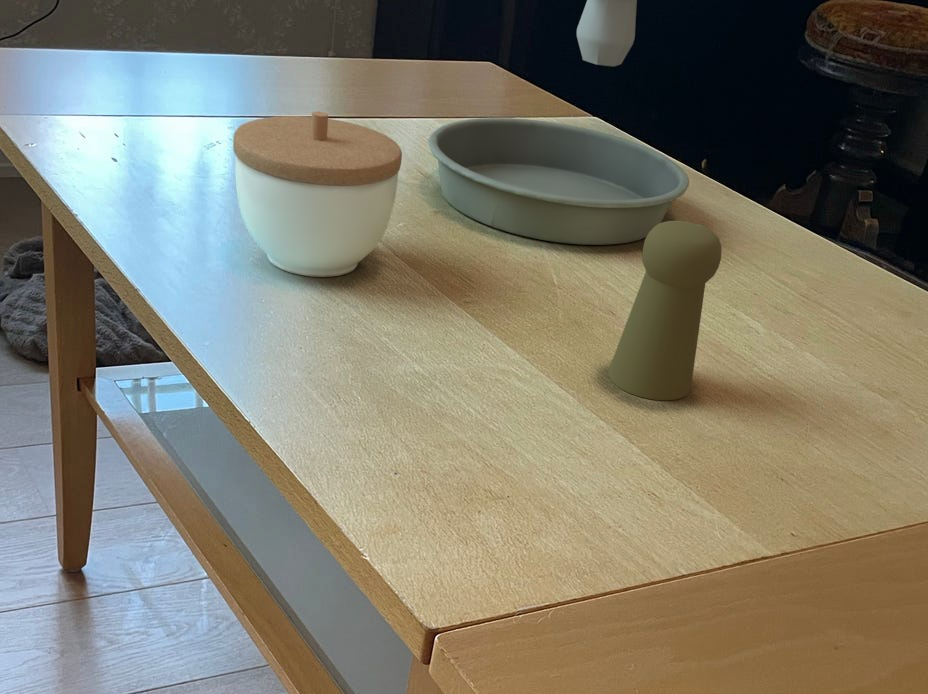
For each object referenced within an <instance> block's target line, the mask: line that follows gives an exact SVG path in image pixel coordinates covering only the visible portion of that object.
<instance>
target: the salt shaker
mask: <svg viewBox="0 0 928 694" xmlns="http://www.w3.org/2000/svg"><path fill="white" fill-rule="evenodd" d="M637 2H638V0H586V2H585V6H584V8H583V10H582V14H581V16H580V19H579V22H578V24H577V28H576V38H577V43H578V47H579V50H580V54H581V58H582V61H584V62H587V63H591V64H594V65H597V66H598V65H599V66H604V67H617V66H620V65H622V64H623V62H624V60H625V59H626V57H627V55H628V53H629V52H630V49H631V48H632V46H633V45H634V42H635V38H636V22H637V21H636V20H637V18H636V17H637V4H638V3H637Z"/></svg>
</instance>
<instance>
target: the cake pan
mask: <svg viewBox="0 0 928 694" xmlns="http://www.w3.org/2000/svg"><path fill="white" fill-rule="evenodd" d="M427 140H428V141H427V143H428V147H429V150H430V152H431V154H432V155H433V157H434V158H435V159H437V163H438V164H437V165H438V176H439V184H440V185H439V186H440V192H441V195H442V197H443V198H444V199H445V201H446V202H447V203H448V204H449V205H450V206H452V207H453V208H454V209H455V210H457V211H458V212H460V213H461V214H463V215H465V216H466V217H468V218H470V219H472V220H474V221H477V222H479V223H482V224H484V225H486V226H488V227H492V228H494V229H497V230H500V231H504V232H507V233H510V234H514V235H518V236H522V237H526V238H532V239H535V240H541V241H547V242H554V243H562V244H568V245H569V244H570V245H581V246H582V245H583V246H587V245H588V246H593V245H594V246H609V245H620V244H627V243H632V242H637V241H641V240H643V239H646V237H647V235H648V233H649V232H650V231H651V230H652V229H653V228H654V226H656V225H657V224H660V223H663V220H664V218H665V217H666V214H667V212H668V210H669V208H670V206H671V204H672V202H674V201H675V200H677V199H679V198H680V197H682V196H683V195H684V194H685V193H686V192H687V190H688V189H689V186H690V180H689V179H690V178H689V176H688V174H687V173H686V171H685V170H684V169H683V168H682V167H681V166H680V165H679V164H678V163H677V162H675V161H674V160H672V159H670V158H669V157H667V156H665V155H664V154H662V153H660V152H658V151H656V150H654V149H652V148H649V147H647V146H644V145H643V144H640V143H637V142H634V141H631V140H629V139H626V138H623V137H620V136H617V135H613V134H609V133H607V132H603V131H598V130H594V129H590V128H586V127H582V126H577V125H571V124H566V123H561V122H560V123H559V122H554V121H553V122H552V121H547V120H546V121H545V120H537V119H528V118H527V119H526V118H512V117H483V118H482V117H479V118H470V119H464V120H463V119H462V120H458V121H454V122H450V123H447V124H444V125H442V126H440V127H438V128H436V129H434V131H432V133H431V134H430V136H429V138H428V139H427Z"/></svg>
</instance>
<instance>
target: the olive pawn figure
mask: <svg viewBox="0 0 928 694" xmlns="http://www.w3.org/2000/svg"><path fill="white" fill-rule="evenodd" d="M641 255H642V256H641V257H642V259H641V260H642V265H643V267H644V269H645V272H644V276H643V278H642V280H641V284H640V286H639V288H638V291H637V294H636V296H635V299H634V301H633V304H632V307H631V309H630V313H629V315H628V318H627V320H626V323H625V325H624V328H623V331H622V334H621V336H620V339H619V342H618V344H617V347H616V350H615V352H614V355H613V358H612V360H611V363H610V366H609V368H608V372H607V376H608V378H609V380H610V382H611V383H612V384H613V385H615V386H616V387H617V388H619V389H620V390H623V391H624V392H626V393H628V394H631V395H633V396H636V397H640V398H642V399H643V398H644V399H649V400H654V401H673V400H679V399H682V398H685V397H687V396H688V395H689V394H690V392H691V391H692V384H693V378H694V377H693V376H694V369H695V362H696V354H697V348H698V340H699V334H700V326H701V319H702V311H703V303H704V298H705V297H704V296H705V289H706V284H707V283H708V281H710V280H711V279H713V277H714V276H715V275H716V273H717V271H718V269H719V267H720V265H721V262H722V261H721V260H722V244H721V240H720V238H719V237H718V236H717V234H716V233H714V232H713V230H711V229H709V228H707V227H705V226H703V225H700V224H696V223H693V222H689V221H681V220H667V221H662V222H661V223H660V224H657V225H656V226H654V228H653V229H652V230H651V231H650V232H649V233H648V235H647V237H646V238H644V242H643V246H642V252H641Z"/></svg>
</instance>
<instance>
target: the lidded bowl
mask: <svg viewBox="0 0 928 694" xmlns="http://www.w3.org/2000/svg"><path fill="white" fill-rule="evenodd" d="M232 138H233V139H232V142H233V144H232V145H233V146H232V147H233V148H232V149H233V152H234V176H235V177H234V179H235V180H234V181H235V189H236V190H235V191H236V197H237V203H238V207H239V212H240V214H241V217H242V221H243V222H244V225H245V228H246V229H247V232H248V233H249V235H250V236H251V238H252V240H254V242H255V243H256V244H257V245H258V247H259V248H260V249H261V250H262V251H263V252H264V253H265V254H266V255H267V256H266V257H267V260H268V261H269V263H271V264H272V265H273V266H275V267H276V268H278V269H280V270H283V271H286V272H288V273H291V274H295V275H300V276H304V277H305V276H306V277H313V278H327V277H328V278H329V277H339V276H342V275H347V274H349V273H351V272H353V271H354V270H355V269H356V268H357V267H358V263H360V261H362V260H363V259H365V258H367V256H368V255H369V254H371V252H373V251H374V250H375V248H376V247H377V245H378V244H379V243H380V241H381V240H382V239H383V237H384V235H385V233H386V231H387V229H388V226H389V223H390V220H391V218H392V214H393V211H394V210H393V209H394V206H395V201H396V196H397V190H398V189H397V188H398V182H399V181H398V180H399V171H400V170H401V166H402V160H403V151H402V149H401V147H400V146H399V144H398V143H397V142H396V141H395V140H393V139H392V138H390V137H389V136H387V135H386V134H384V133H381V132H379V131H377V130H374V129H372V128H369V127H367V126H363V125H360V124H356V123H353V122H348V121H343V120H338V119H334V118H333V119H332V118H329V113H328V112H325V111H312V112H311V116H306V115H305V116H304V115H281V116H269V117H263V118H257V119H254V120H250V121H247V122H245V123H242V124H241V125H240V126H238V127H237V128H236V129H235V130H234V133H233V137H232Z"/></svg>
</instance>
